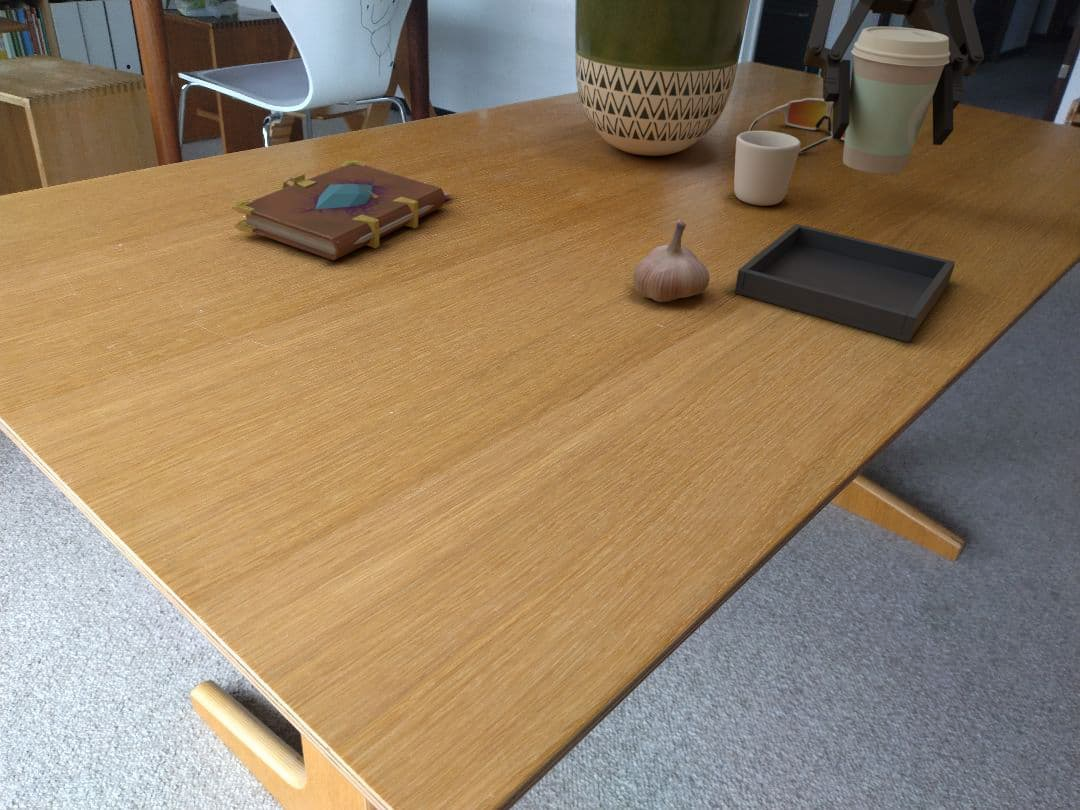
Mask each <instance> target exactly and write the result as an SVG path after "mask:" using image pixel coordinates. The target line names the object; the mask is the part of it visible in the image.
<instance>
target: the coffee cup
mask: <svg viewBox="0 0 1080 810" xmlns="http://www.w3.org/2000/svg"><path fill="white" fill-rule="evenodd" d="M850 53H851V54H852V55H853V62H852V68H851V69H852V70H851V76H850V119H849V125H848V127H847V129H846V133H845V141H843V153H842V154H843V155H842V163H843V165H845V166H846V167H848V168H850V169H853V170H855V171H859V172H862V173H867V174H874V175H895V174H899V173H900V174H901V173H902V172H904V171H905V169H906V166H907V164H908V162H909V159H910V156H911V153H912V151H913V148H914V147H915V143H916V141H917V138H918V136H919V133H920V130H921V128H922V125H923V122H924V120H925V117H926V115H927V112H928V110H929V107H930V104H931V102H932V100H933V94H934V92H935V89H936V87H937V84H938V81H939V79H940V76H941V73H942V71H943V68H944V66H945V64H948V63H949V62H950V61H949V56H950V52H949V38H948V37H947V36H945V35H943V34H940V33H936V32H932V31H927V30H921V29H915V28H914V27H905V26H904V27H903V26H870V27H865V28H862V30H861V32H860V34H859V36H858V38H857V41H855V42H854V44H853V48H852V50H851V51H850Z"/></svg>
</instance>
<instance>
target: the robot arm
mask: <svg viewBox="0 0 1080 810" xmlns="http://www.w3.org/2000/svg"><path fill="white" fill-rule="evenodd" d="M935 1H936V0H858V1H857V4H856V5H855V7H854V9H853V10H852V12H851V14H850V16H849V17H848V19H847V21H846V22H845V24H844V25H843V27H842V29H841V31H840V32H839V35H838V36H837V38H836V39H835V42H834V43H833V45H832V47H831V48H828V47H825V46H824V45H825V41H826V37H827V33H828V28H829V26H830V21H831V19H832V14H833V10H834V7H835V2H836V0H818V3H817V7H816V11H815V14H814V18H813V22H812V27H811V30H810V34H809V38H808V42H807V45H806V49H805V53H804V56H803V60H802V61H803V65H804V66H805V67H807V68H813V67H815V68H818V69H820V72H819V76H820V77H821V78H822V99H824V101H825V102H833V137H832V139H833V140H841V137H842V136H843V134H844V132H845V131H846V129H847V127H848V125H849V119H850V87H851V60H850V59H843V57H844V56H845V54H846V52H847V51H848V48H849V47H850V45H851V44H852V42H853V40H854V38H855V37H856V34H857V33H858V32H859V30H860V28H861V26H862V25H863V23H864V21H865V19H866V18H867V16H868V14H869V12H870V11H871V12H872V14H878V15H881V14H887V13H889V14H894V15H899V16H904V18H905V20H906V22H907V24H908V25H909V26H913V29H921V30H927V31H932V32H936V33H940V34H943V35H945V36H947V37H948V38H949V52H950V56H949V61H950V62H949V63H948V64H945V66H944V68H943V71H942V73H941V76H940V79H939V81H938V84H937V87H936V89H935V92H934V94H933V97H932V145H933V146H942V145H943V144H944V143H945V141H946V140H947V139H948V137H949V136H950V135H951V134H952V133H953V132H954V110H955V109H956V108H957V106H958V105H959V104H960V103H961V101H962V100H963V97H964V92H963V91H964V89H963V85H964V83H963V77H970V76H972V75H973V74H974V72H975V71H976V69H978V67H979V65H980V64H981V63H982V61H983V60H984V59H985V52H984V48H983V45H982V41H981V37H980V32H979V29H978V25H977V21H976V18H975V13H974V9H973V6H972V1H971V0H941V2H944V12H945V17H946V21H947V24H946V23H945V21H944V20H943V17H942V16H941V15H942V14H940V12H939V9H938V8H937V7H936V4H935ZM947 25H948V26H947Z"/></svg>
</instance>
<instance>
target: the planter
mask: <svg viewBox="0 0 1080 810" xmlns="http://www.w3.org/2000/svg"><path fill="white" fill-rule="evenodd" d="M574 3H575V7H574V8H575V9H574V21H575V22H574V23H575V24H574V37H575V38H574V45H575V46H574V48H575V49H574V51H575V53H574V58H575V59H574V60H575V64H574V65H575V82H576V87H577V93H578V98H579V102H580V105H581V108H582V111H583V113H584V115H585V117H586V119H587V121H588V122H589V124H590V125H591V127H592V128H593V129H594V130H595V132H596V133H597V134H598V135H599V136H600V137H601V138H602V139H604V140H605V141H606V142H607V143H608V144H609V145H611V146H612V147H614V148H616V149H617V150H619V151H620V150H621V151H622V152H625V153H628V154H632V155H638V156H645V157H660V156H668V155H673V154H677V153H680V152H682V151H684V150H686V149H688V148H690V147H691V146H693V145H694V144H696V143H698V141H700V140H701V139H702V138H703V137H705V136H706V135H707V134H708V133H709V132H710V131H711V130H712V128H713V127H714V126H715V125H716V124H717V122H718V121H719V120H720V118H721V116H722V114H723V112H724V110H725V109H726V106H727V103H728V101H729V98H730V97H731V96H730V95H731V93H732V90H733V87H734V83H735V79H736V74H737V70H738V65H739V60H740V56H741V50H742V45H743V40H744V36H745V31H746V25H747V20H748V14H749V10H750V5H751V0H575V1H574Z"/></svg>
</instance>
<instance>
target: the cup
mask: <svg viewBox="0 0 1080 810" xmlns="http://www.w3.org/2000/svg"><path fill="white" fill-rule="evenodd" d="M801 144H802V143H801V141H800V139H799V138H797V137H795V136H793V135H791V134H788V133H783V132H779V131H773V130H772V131H771V130H751V131H749V130H748V131H743V132H741V133H739V134H738V135H737V136H736V140H735V158H734V159H735V160H734V177H733V178H734V179H733V190H734V195H735V197H736V198H737V199H738V200H740V201H741V202H744V203H745V204H746V203H747V204H748V205H749V204H750V205H753V206H761V207H762V206H766V207H767V206H774V205H777V204H780V203H781V202H782V201H783V200H784V199H785V197H786V195H787V193H788V189H789V186H790V183H791V180H792V176H793V173H794V170H795V166H796V163H797V159H798V157H799V150H801Z"/></svg>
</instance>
